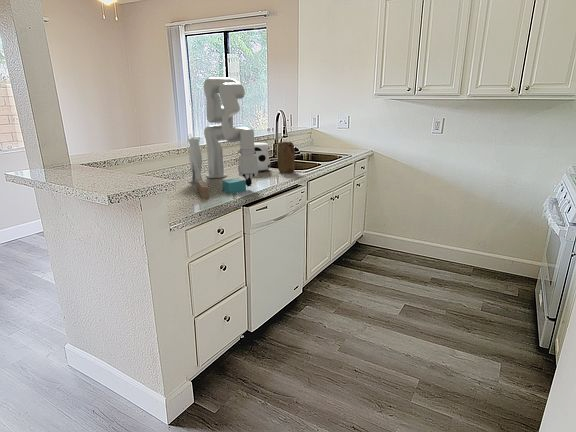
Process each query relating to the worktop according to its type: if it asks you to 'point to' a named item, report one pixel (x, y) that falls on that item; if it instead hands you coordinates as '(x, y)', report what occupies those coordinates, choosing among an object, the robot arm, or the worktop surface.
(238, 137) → the robot arm
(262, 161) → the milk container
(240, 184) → the teal block
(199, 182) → the walnut board
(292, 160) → the block
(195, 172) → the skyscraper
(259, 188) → the worktop surface
